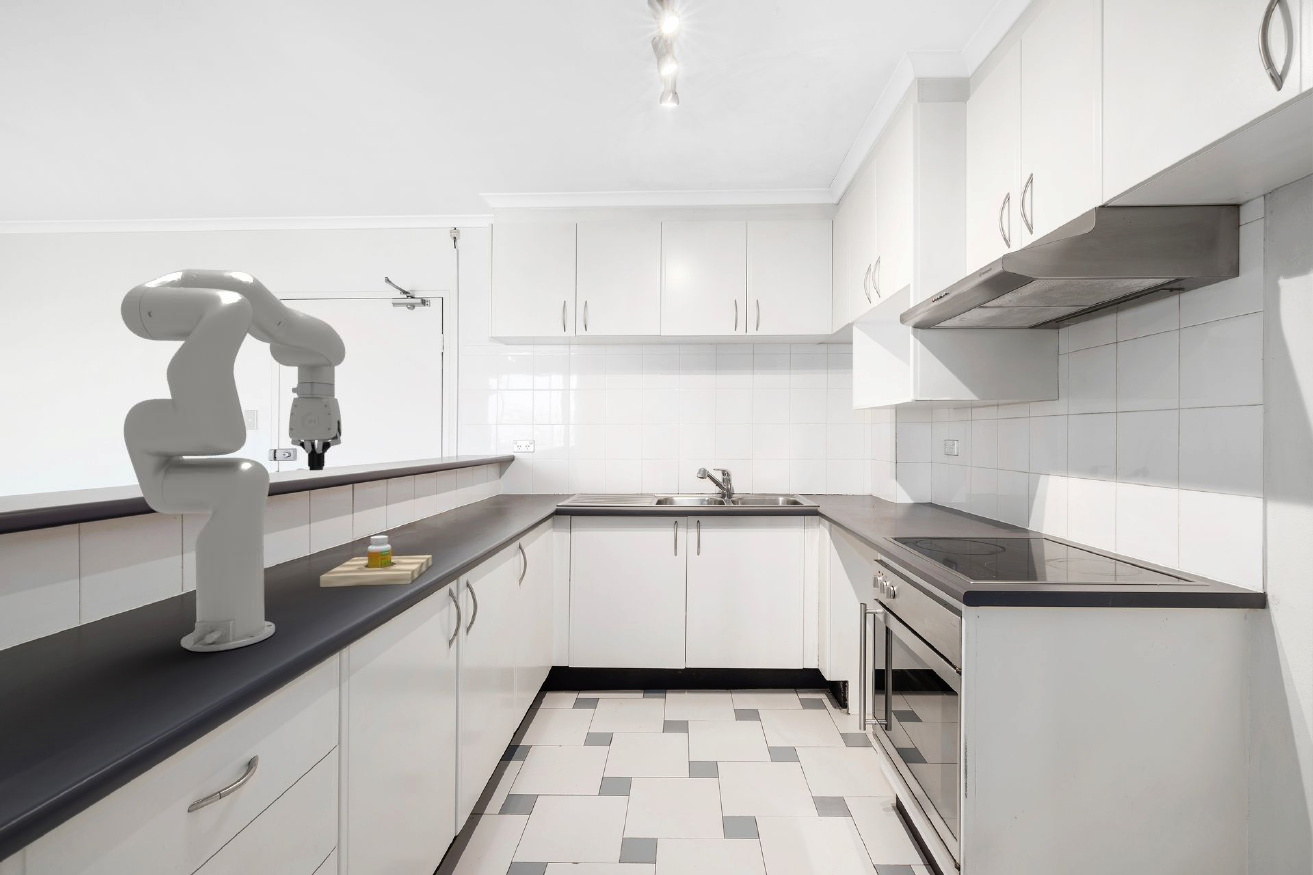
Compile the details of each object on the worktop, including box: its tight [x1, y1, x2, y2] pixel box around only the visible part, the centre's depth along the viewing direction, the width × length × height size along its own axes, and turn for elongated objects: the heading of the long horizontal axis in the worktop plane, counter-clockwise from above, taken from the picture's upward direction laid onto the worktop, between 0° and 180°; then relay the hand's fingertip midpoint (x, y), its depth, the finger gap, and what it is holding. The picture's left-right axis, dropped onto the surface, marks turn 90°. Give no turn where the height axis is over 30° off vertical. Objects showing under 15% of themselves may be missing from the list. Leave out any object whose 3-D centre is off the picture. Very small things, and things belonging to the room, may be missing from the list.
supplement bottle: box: [367, 535, 392, 568], centre depth 144 cm, size 5×5×10 cm
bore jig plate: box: [319, 554, 433, 588], centre depth 145 cm, size 20×20×2 cm
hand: (316, 470), depth 135 cm, fingers closed
